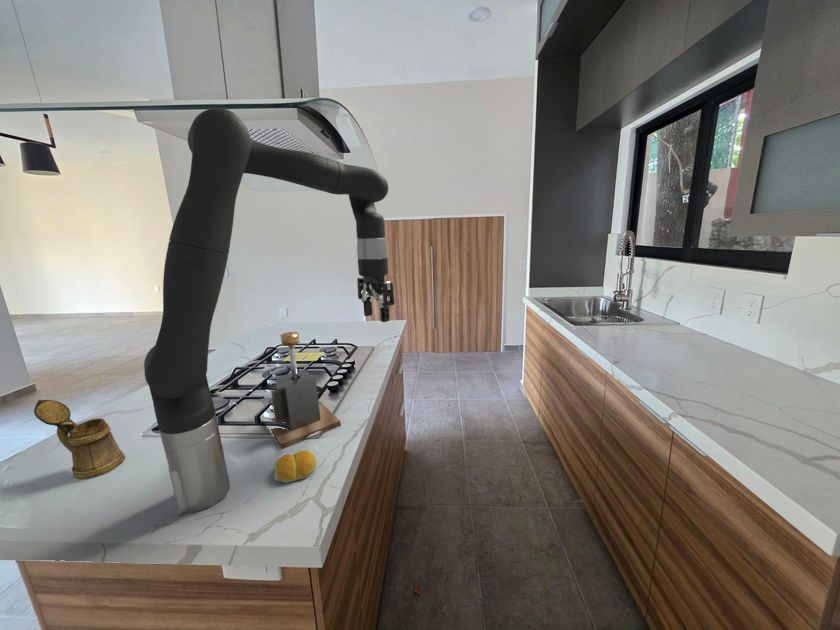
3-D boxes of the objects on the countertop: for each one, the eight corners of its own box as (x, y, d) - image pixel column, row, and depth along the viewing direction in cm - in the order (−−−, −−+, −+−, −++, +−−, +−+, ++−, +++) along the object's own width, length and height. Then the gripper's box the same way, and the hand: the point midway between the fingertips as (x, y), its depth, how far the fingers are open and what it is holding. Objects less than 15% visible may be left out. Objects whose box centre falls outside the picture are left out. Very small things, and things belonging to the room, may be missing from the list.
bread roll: (319, 476, 75) (316, 460, 74) (275, 488, 72) (272, 472, 71) (315, 454, 83) (313, 440, 82) (275, 464, 80) (273, 449, 79)
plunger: (288, 391, 89) (281, 339, 85) (281, 384, 93) (274, 334, 90) (311, 384, 92) (304, 334, 89) (303, 377, 97) (296, 329, 93)
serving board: (281, 449, 85) (280, 444, 84) (264, 423, 97) (263, 418, 97) (340, 425, 94) (340, 420, 94) (318, 404, 107) (317, 399, 106)
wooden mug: (78, 456, 85) (56, 391, 81) (134, 453, 86) (116, 387, 81) (41, 482, 77) (15, 410, 72) (104, 478, 77) (82, 406, 73)
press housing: (282, 434, 89) (275, 390, 85) (273, 422, 95) (266, 380, 92) (320, 420, 95) (315, 378, 92) (309, 409, 101) (304, 369, 98)
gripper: (346, 256, 90) (351, 316, 94) (374, 259, 79) (378, 326, 83) (371, 254, 94) (374, 311, 98) (400, 256, 83) (403, 320, 87)
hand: (376, 318), depth 90 cm, fingers open, 8 cm apart
